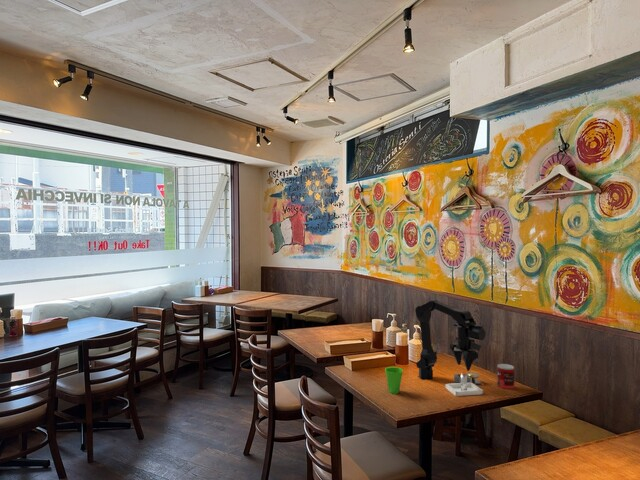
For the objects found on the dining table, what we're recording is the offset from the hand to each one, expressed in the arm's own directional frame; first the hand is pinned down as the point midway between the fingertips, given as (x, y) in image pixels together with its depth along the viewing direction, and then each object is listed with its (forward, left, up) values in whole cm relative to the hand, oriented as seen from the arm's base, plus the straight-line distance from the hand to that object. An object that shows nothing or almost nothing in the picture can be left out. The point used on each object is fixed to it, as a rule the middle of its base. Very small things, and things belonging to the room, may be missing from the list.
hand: (463, 367), depth 203 cm
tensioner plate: (+8, +11, -12) cm, 18 cm away
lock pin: (0, 0, -11) cm, 11 cm away
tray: (0, 0, -12) cm, 12 cm away
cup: (-34, +5, -12) cm, 37 cm away
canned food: (+24, +2, -12) cm, 27 cm away
